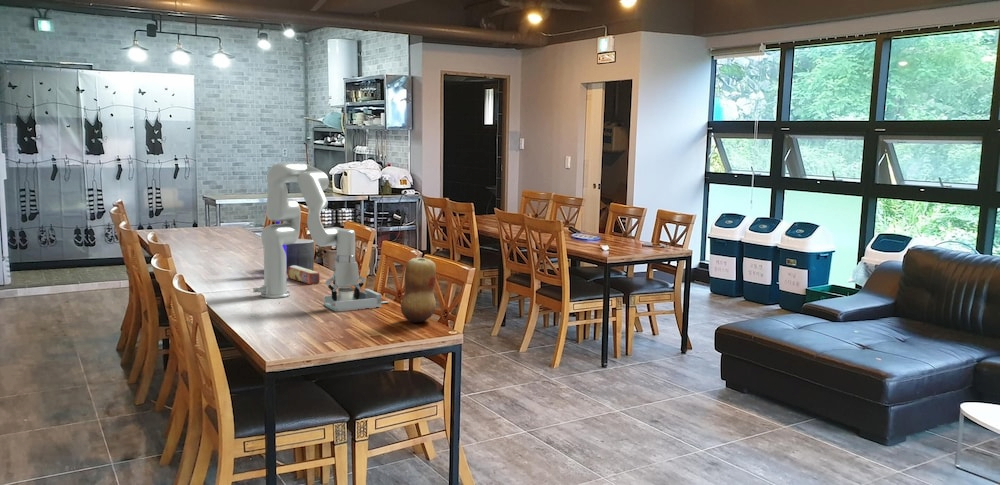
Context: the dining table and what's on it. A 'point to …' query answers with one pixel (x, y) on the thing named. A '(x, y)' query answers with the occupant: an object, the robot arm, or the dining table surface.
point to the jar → (345, 293)
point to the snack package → (303, 275)
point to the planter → (301, 254)
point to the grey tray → (354, 302)
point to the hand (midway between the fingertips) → (345, 299)
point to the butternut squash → (419, 290)
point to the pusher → (366, 296)
